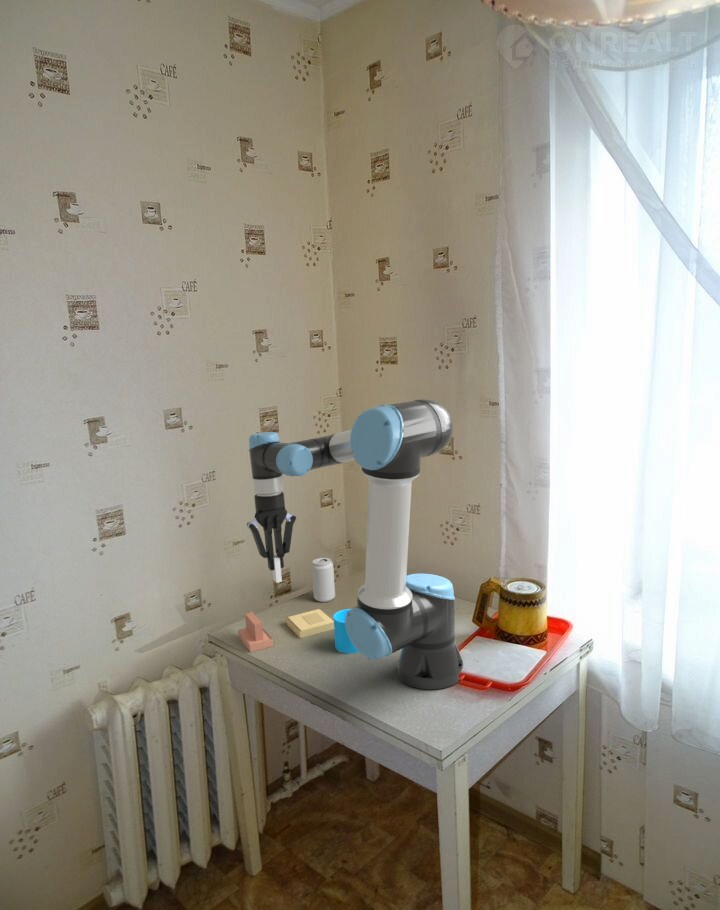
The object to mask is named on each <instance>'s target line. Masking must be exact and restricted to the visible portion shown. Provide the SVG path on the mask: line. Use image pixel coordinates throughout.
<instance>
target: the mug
mask: <svg viewBox="0 0 720 910" xmlns="http://www.w3.org/2000/svg"><path fill="white" fill-rule="evenodd" d="M351 609H352V608H347V609H341V610H338V611H336V613H334V614H333V621H334V629H333V631H334V647H335V649H336V650H337V651H338V652H340V653H342V654H355V653H360V652H359V651H358V650H357V649H356V648H355V647H354V645H353V643H352V642H351V640H350V638H349V636H348V633H347V630H346V626H345V617H346V614H347V612H349V611H350V610H351Z"/></svg>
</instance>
